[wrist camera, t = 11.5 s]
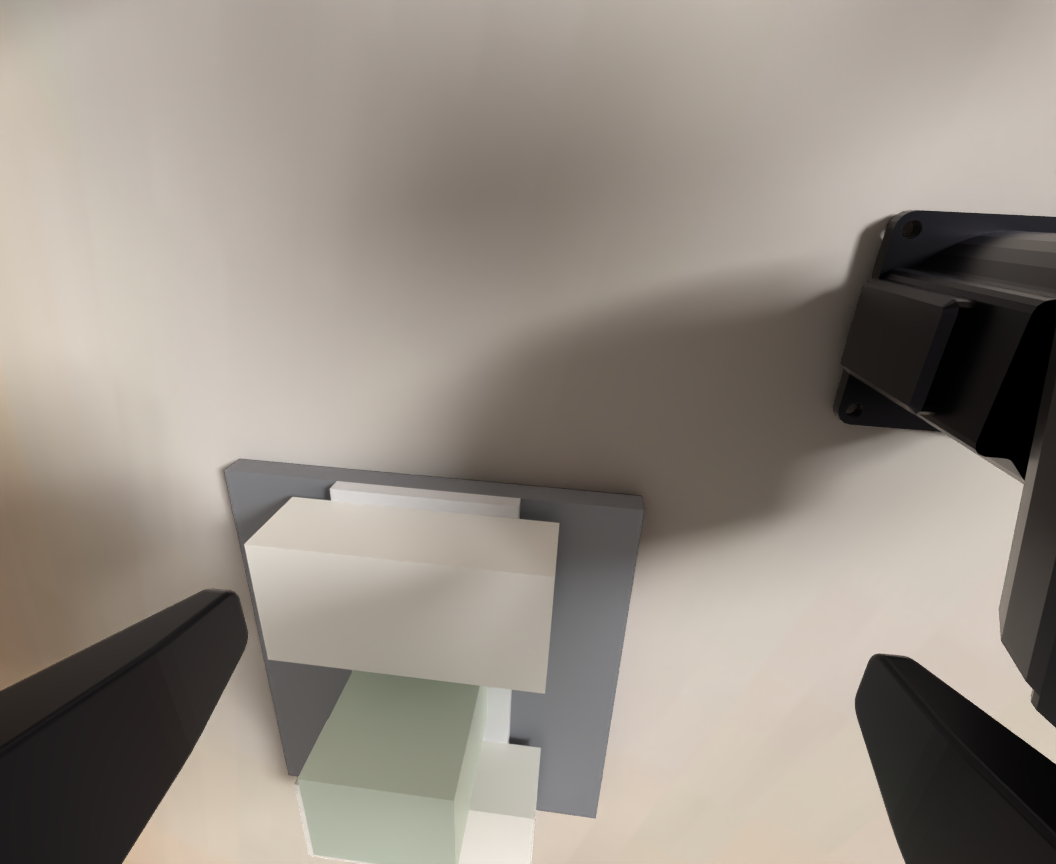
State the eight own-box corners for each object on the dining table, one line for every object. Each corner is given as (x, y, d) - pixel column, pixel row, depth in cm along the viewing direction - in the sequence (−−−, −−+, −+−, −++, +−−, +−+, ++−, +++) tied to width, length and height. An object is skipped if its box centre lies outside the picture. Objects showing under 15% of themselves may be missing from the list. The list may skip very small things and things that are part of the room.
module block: (487, 649, 21) (454, 800, 16) (487, 717, 23) (456, 875, 18) (370, 635, 22) (297, 779, 16) (377, 703, 23) (313, 854, 18)
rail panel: (641, 495, 20) (656, 574, 16) (595, 797, 27) (596, 906, 23) (239, 458, 21) (152, 521, 17) (298, 756, 28) (247, 852, 24)
